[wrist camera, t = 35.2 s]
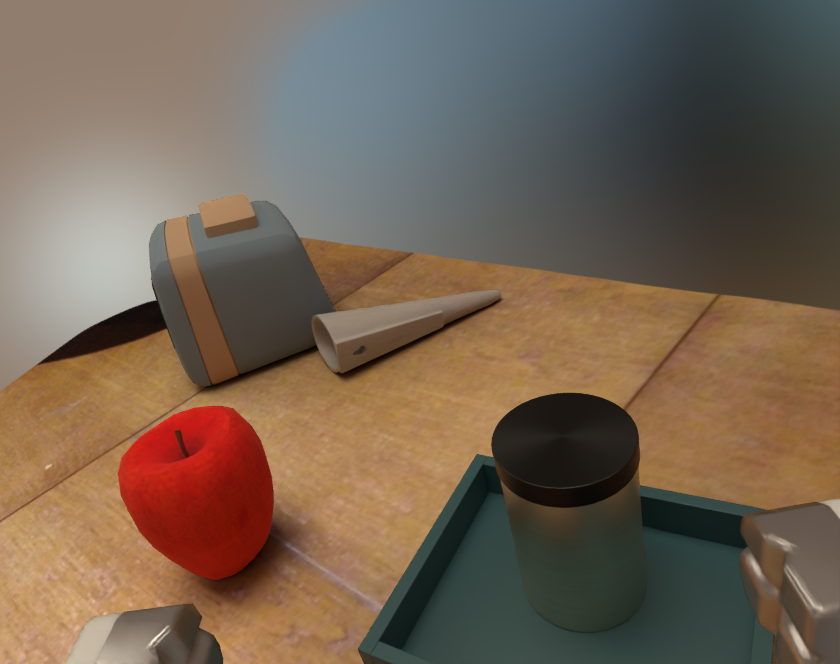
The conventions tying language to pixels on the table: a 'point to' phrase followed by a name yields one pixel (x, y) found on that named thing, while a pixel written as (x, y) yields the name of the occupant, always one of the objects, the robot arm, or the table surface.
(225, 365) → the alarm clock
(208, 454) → the apple
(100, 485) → the table surface
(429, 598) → the tray
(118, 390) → the table surface
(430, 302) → the long tapered cone
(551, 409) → the travel mug
